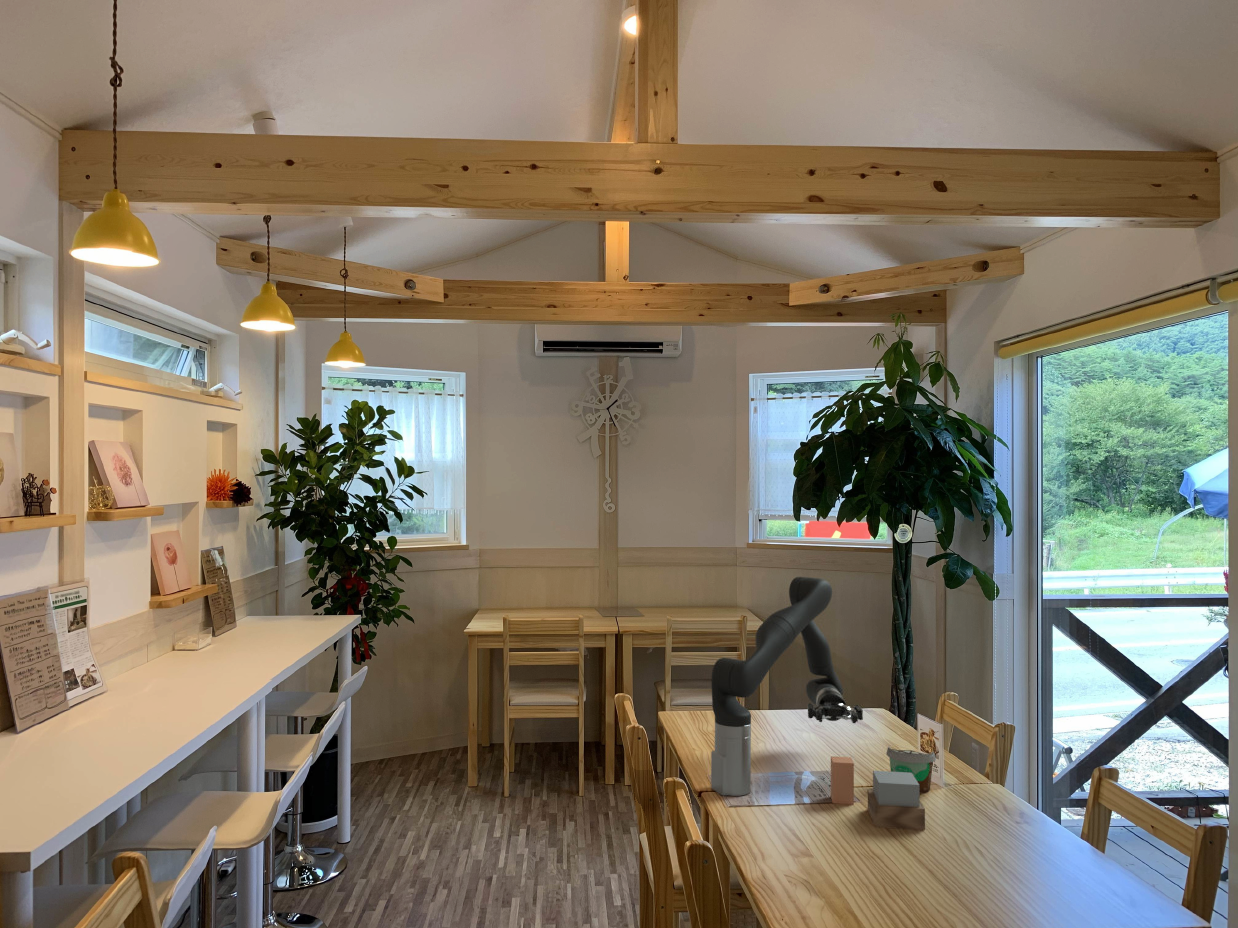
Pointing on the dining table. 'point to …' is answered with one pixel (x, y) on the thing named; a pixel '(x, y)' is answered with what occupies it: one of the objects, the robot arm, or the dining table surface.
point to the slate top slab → (895, 788)
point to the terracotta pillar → (842, 780)
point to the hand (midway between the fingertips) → (837, 718)
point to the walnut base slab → (895, 815)
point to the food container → (913, 765)
